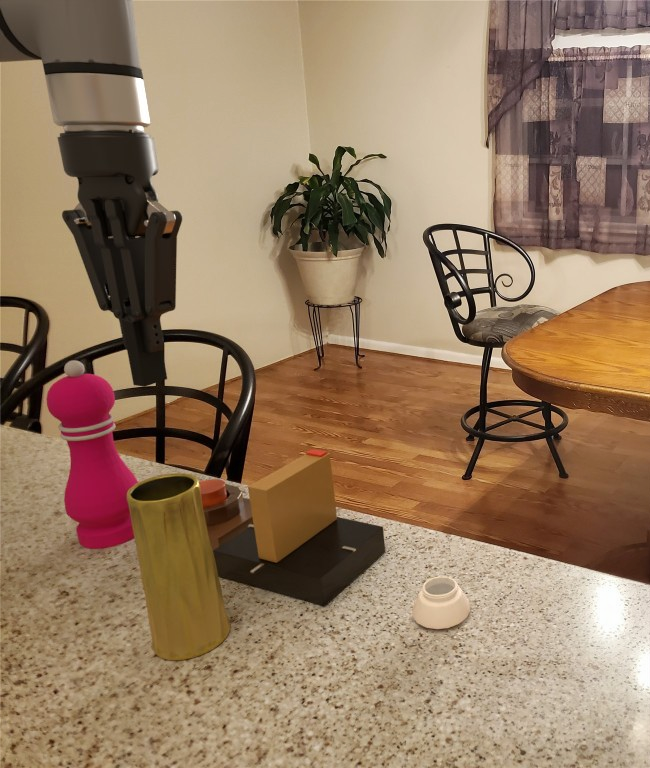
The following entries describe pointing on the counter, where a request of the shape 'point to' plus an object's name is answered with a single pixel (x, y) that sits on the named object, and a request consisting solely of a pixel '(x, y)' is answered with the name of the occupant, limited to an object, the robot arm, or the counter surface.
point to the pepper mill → (92, 458)
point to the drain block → (228, 517)
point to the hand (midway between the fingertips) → (150, 381)
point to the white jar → (440, 604)
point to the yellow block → (292, 505)
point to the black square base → (305, 561)
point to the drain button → (212, 492)
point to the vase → (177, 567)
